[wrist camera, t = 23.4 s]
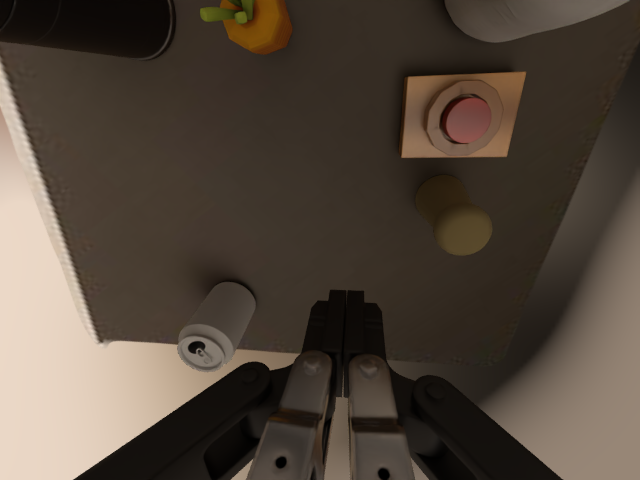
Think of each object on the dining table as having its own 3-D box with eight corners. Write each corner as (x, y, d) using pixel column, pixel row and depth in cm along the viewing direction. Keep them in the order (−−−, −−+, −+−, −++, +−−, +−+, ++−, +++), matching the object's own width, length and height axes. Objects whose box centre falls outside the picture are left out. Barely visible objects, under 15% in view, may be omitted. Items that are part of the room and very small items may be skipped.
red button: (480, 140, 31) (486, 143, 29) (439, 140, 31) (443, 143, 30) (488, 96, 29) (495, 96, 28) (444, 97, 30) (449, 98, 28)
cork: (476, 189, 37) (517, 225, 27) (445, 228, 40) (473, 274, 30) (434, 165, 36) (460, 194, 27) (405, 207, 39) (420, 247, 29)
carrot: (259, 59, 34) (192, 41, 20) (259, 3, 31) (183, -58, 18) (303, 63, 33) (264, 48, 20) (306, 7, 31) (265, -53, 18)
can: (233, 270, 47) (196, 324, 36) (267, 302, 49) (240, 363, 38) (203, 293, 50) (159, 349, 39) (235, 323, 52) (203, 384, 41)
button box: (496, 152, 35) (514, 160, 31) (398, 153, 36) (403, 161, 32) (514, 72, 31) (536, 70, 27) (404, 77, 33) (410, 75, 29)
